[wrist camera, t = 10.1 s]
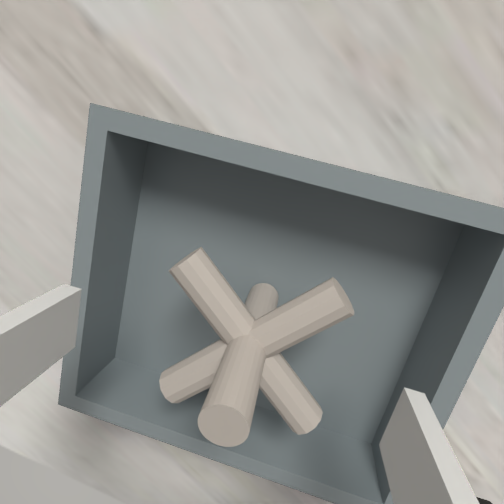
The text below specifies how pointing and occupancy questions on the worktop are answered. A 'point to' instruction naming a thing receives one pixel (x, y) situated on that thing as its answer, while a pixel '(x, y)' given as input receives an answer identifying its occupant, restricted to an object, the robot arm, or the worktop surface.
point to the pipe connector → (249, 350)
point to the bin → (286, 284)
